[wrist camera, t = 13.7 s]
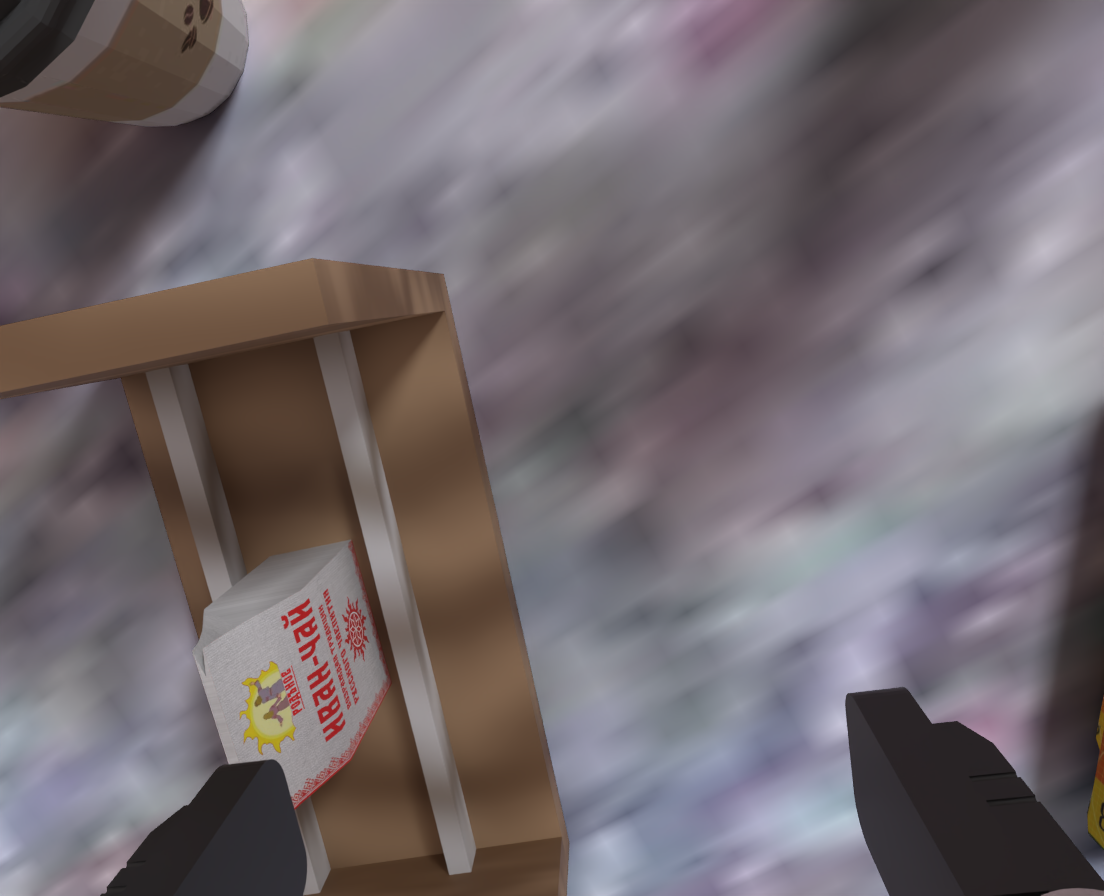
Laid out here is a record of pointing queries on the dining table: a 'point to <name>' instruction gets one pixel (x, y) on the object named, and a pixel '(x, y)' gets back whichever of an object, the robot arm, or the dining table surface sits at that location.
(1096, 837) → the puzzle game
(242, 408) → the wooden rack
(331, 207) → the dining table surface
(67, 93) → the coffee cup
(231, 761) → the white food carton
